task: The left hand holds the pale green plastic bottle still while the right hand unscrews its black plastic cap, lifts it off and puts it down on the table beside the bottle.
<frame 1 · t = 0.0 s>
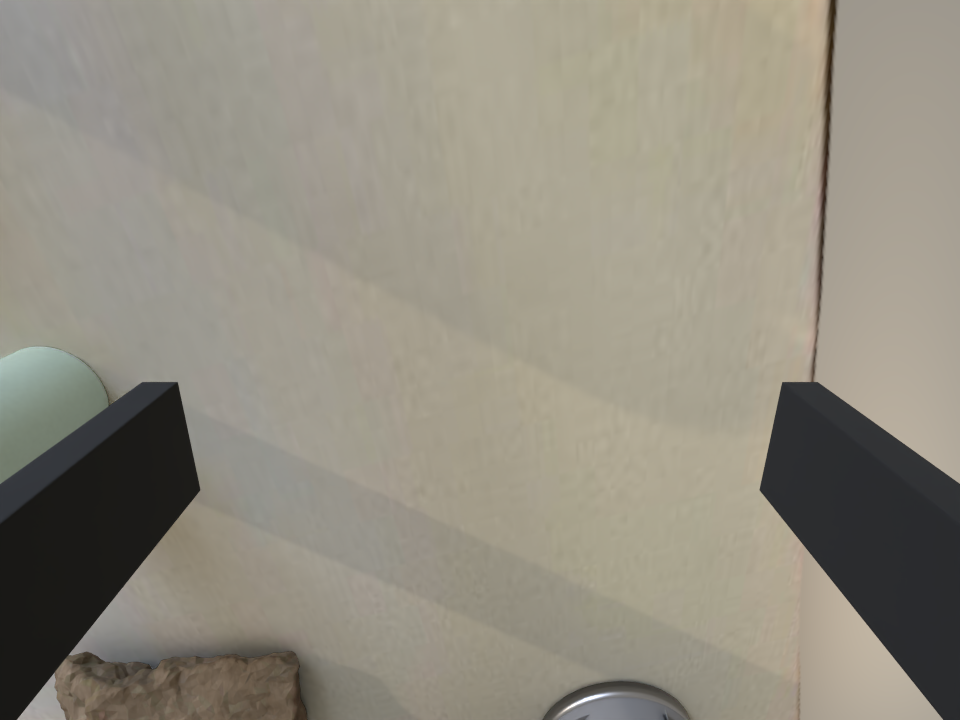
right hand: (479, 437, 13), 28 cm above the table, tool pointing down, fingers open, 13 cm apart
bottle: (54, 396, 43), on the table
stone: (202, 691, 54), on the table
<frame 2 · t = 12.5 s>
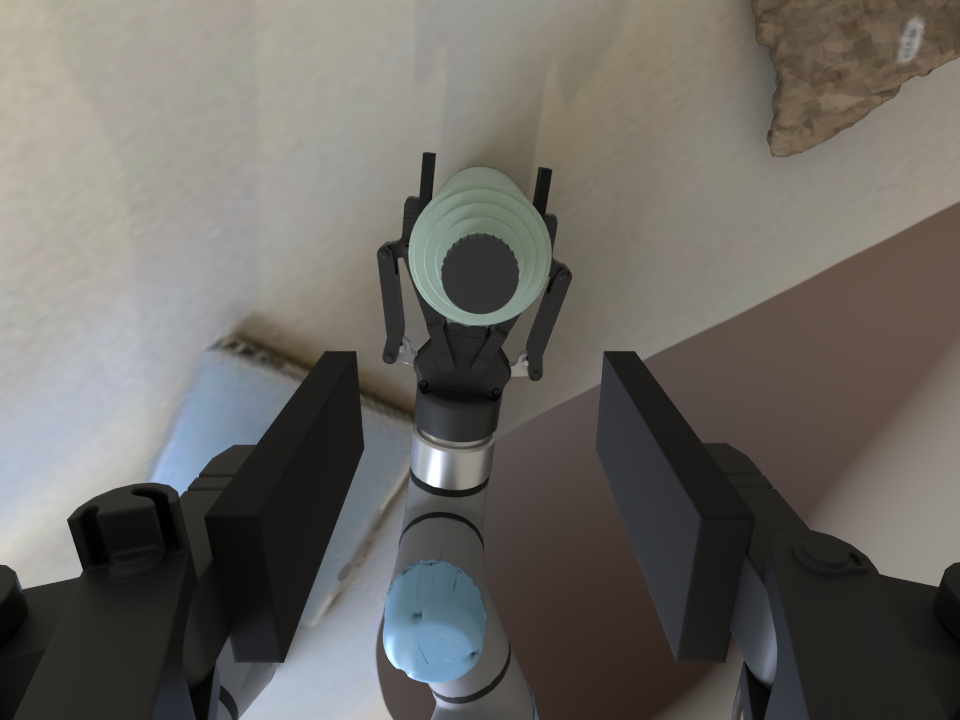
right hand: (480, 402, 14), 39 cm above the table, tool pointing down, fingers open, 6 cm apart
left hand: (487, 161, 43), fingers closed on bottle, 8 cm apart
cap: (480, 276, 28), point 25 cm above the table, screwed on, not yet turned
bottle: (480, 214, 51), on the table, touching left hand
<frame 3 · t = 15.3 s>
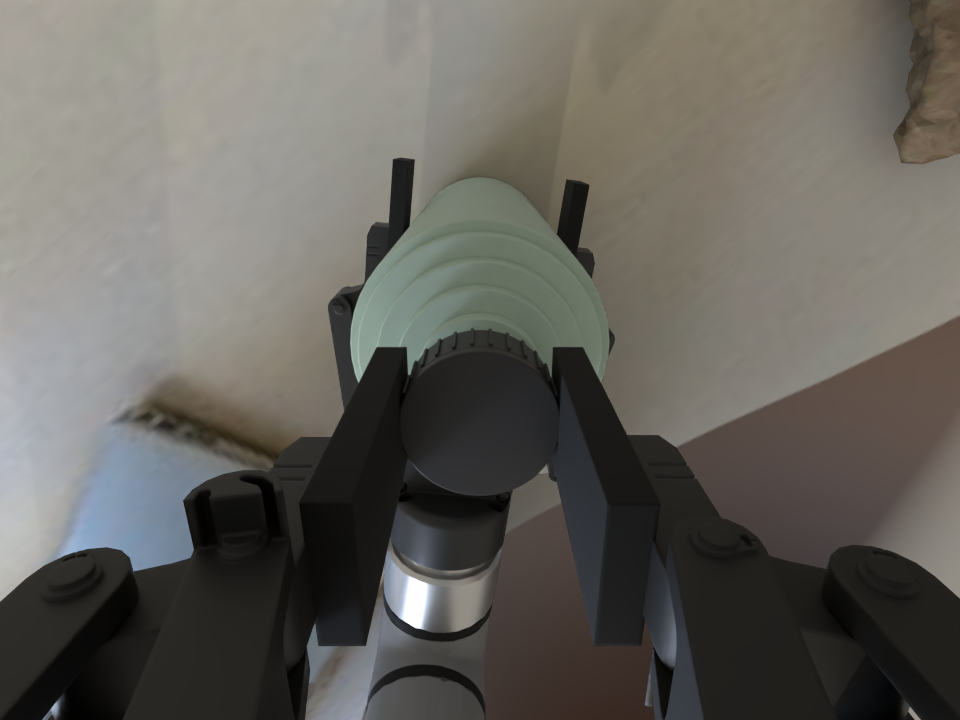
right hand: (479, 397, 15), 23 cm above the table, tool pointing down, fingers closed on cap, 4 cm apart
cap: (479, 421, 13), point 25 cm above the table, screwed on, not yet turned, touching right hand
bottle: (479, 243, 36), on the table, touching left hand
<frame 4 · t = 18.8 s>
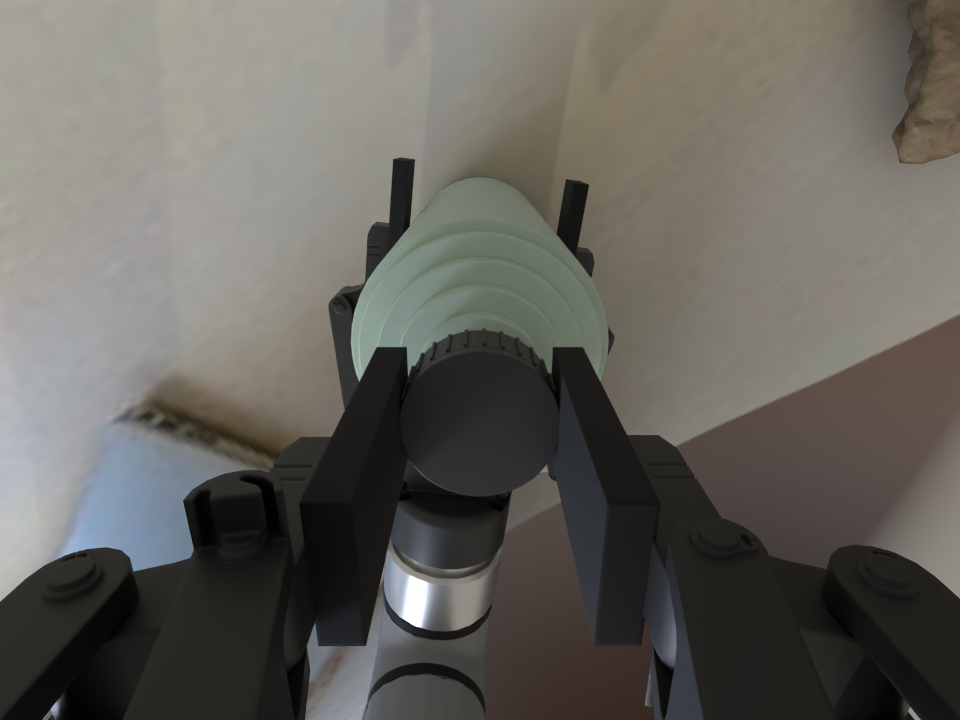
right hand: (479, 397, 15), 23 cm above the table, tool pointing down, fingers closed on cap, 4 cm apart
cap: (479, 422, 13), point 25 cm above the table, turned 120° so far, risen 0.1 cm, still on its thread, touching right hand
bottle: (479, 243, 36), on the table, touching left hand
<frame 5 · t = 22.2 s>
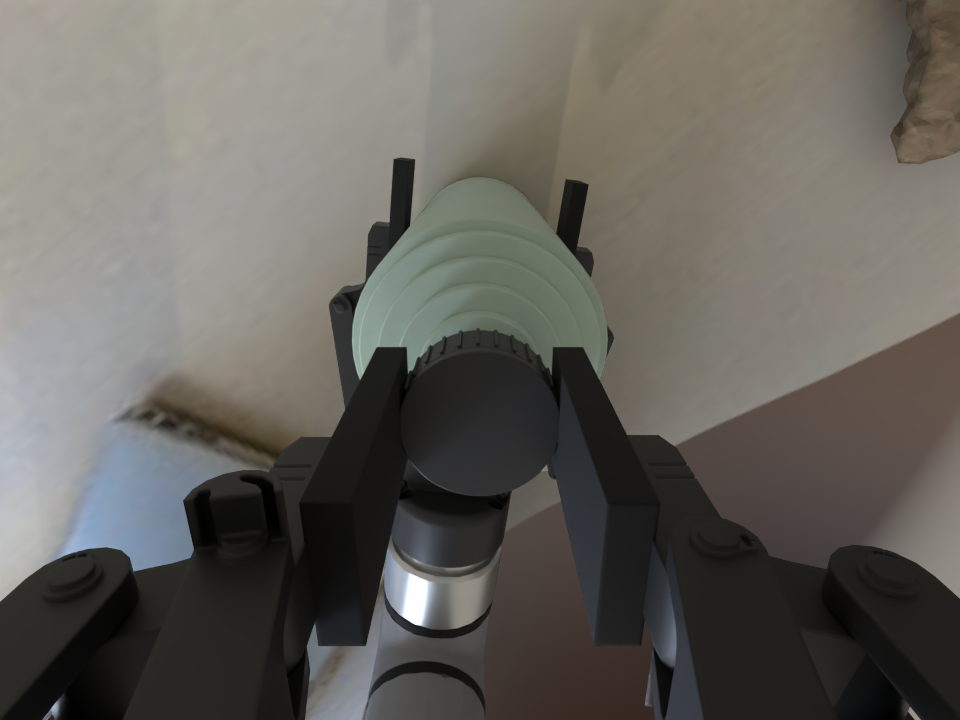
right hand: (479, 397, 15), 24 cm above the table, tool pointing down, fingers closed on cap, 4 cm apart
cap: (479, 421, 13), point 25 cm above the table, turned 240° so far, risen 0.2 cm, still on its thread, touching right hand
bottle: (479, 242, 36), on the table, touching left hand
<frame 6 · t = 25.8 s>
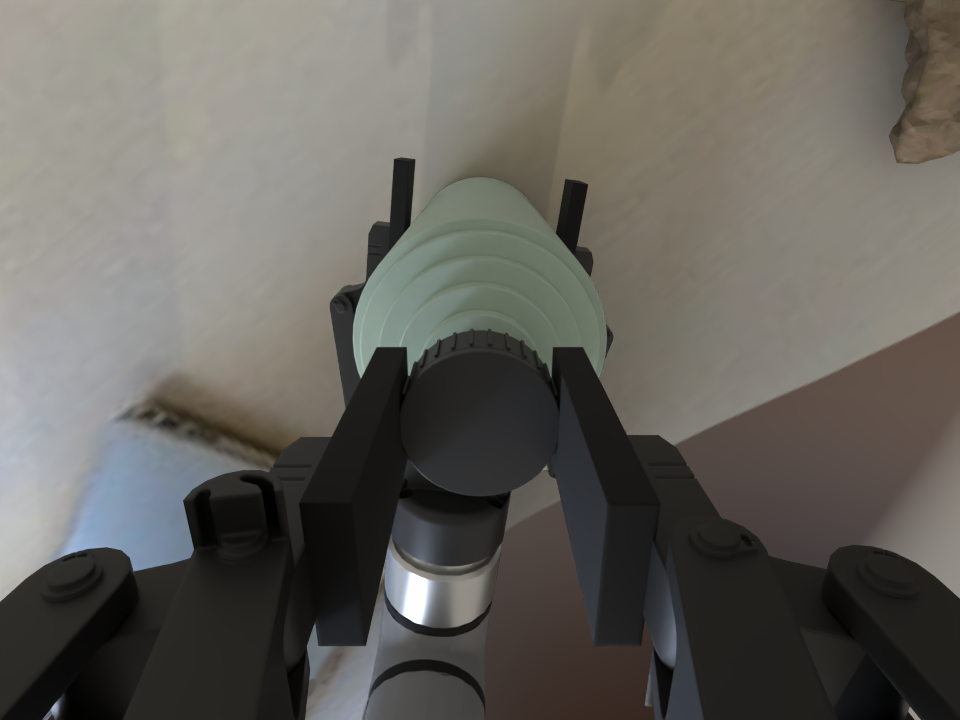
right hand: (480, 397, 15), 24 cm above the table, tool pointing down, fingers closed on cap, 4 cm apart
cap: (479, 422, 13), point 25 cm above the table, turned 360° so far, risen 0.4 cm, still on its thread, touching right hand
bottle: (479, 242, 37), on the table, touching left hand
when the right hand's fingers open (1 cm above the table, at t = 34.1 s): cap stays where it is, point 1 cm above the table.
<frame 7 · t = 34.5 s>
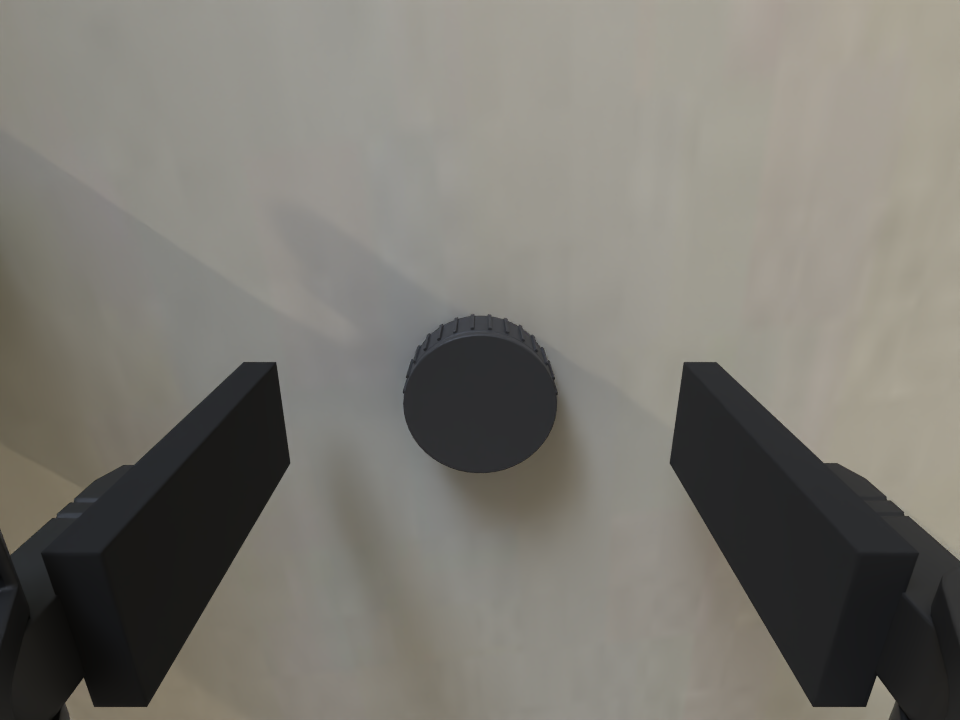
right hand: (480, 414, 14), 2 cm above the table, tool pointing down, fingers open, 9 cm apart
cap: (480, 402, 14), point 1 cm above the table, off its thread
when the left hand's fingers open (6 cm above the table, at t = 35.4 s): bottle stays where it is, on the table.
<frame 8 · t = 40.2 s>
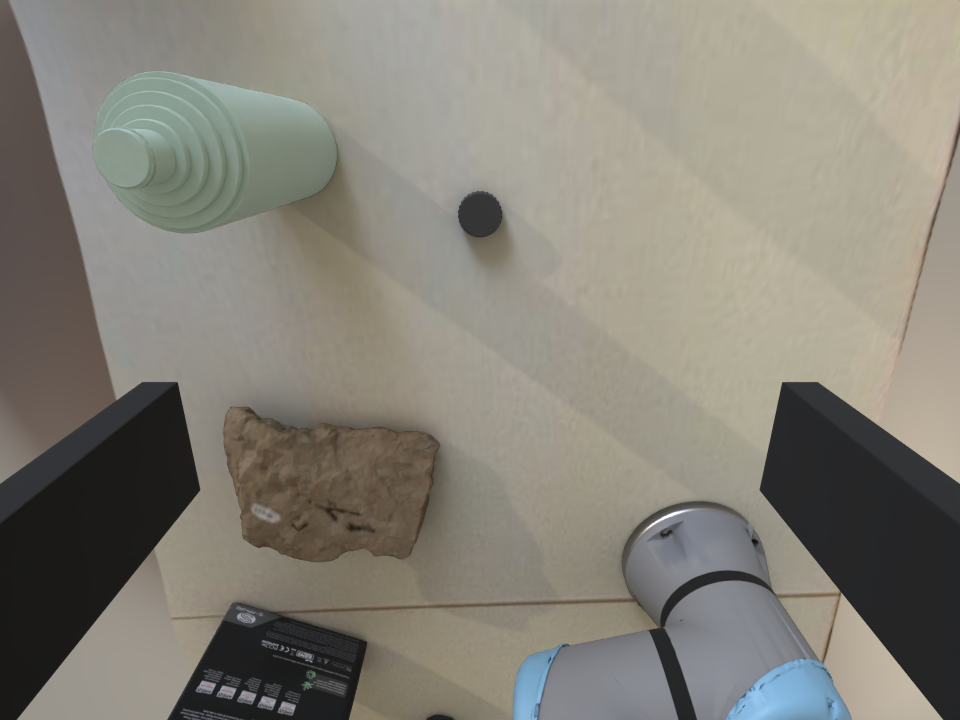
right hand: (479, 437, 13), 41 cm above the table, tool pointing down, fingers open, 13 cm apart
cap: (480, 214, 49), point 1 cm above the table, off its thread
bottle: (289, 150, 49), on the table
stone: (338, 468, 60), on the table
graphics card box: (294, 634, 68), on the table
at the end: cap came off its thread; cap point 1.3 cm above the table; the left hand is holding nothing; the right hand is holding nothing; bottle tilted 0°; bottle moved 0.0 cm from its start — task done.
